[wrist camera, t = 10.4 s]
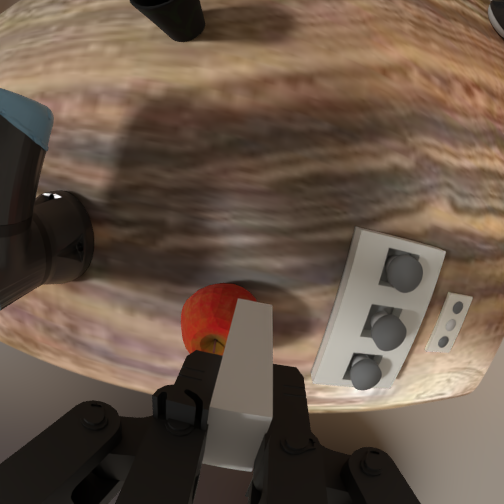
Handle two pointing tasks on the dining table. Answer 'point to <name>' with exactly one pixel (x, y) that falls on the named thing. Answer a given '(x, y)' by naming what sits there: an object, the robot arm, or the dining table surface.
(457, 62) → the dining table surface
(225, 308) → the apple
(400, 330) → the button
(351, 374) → the button
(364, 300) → the board
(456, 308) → the pattern card
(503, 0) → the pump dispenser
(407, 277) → the button
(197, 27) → the cup
